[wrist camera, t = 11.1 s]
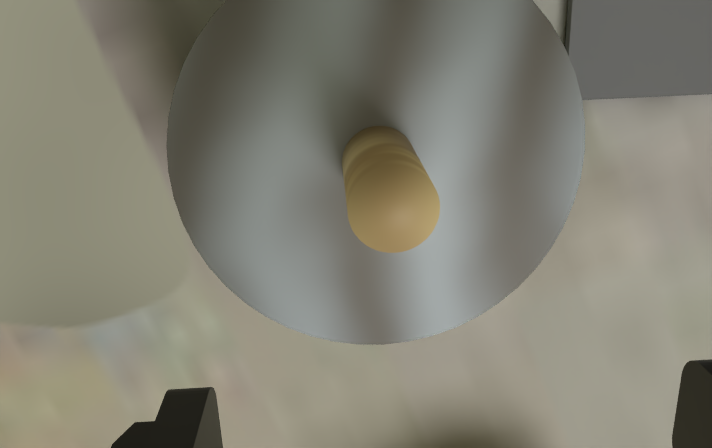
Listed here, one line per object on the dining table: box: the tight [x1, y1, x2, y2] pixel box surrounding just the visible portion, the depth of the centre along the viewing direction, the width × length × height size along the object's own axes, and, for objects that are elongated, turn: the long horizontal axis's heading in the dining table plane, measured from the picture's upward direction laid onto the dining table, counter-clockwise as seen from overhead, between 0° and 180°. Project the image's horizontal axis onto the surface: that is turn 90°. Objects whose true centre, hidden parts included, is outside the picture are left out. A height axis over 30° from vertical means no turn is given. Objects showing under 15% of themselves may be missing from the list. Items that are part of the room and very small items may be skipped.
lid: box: [167, 0, 585, 344], centre depth 25 cm, size 17×17×7 cm
